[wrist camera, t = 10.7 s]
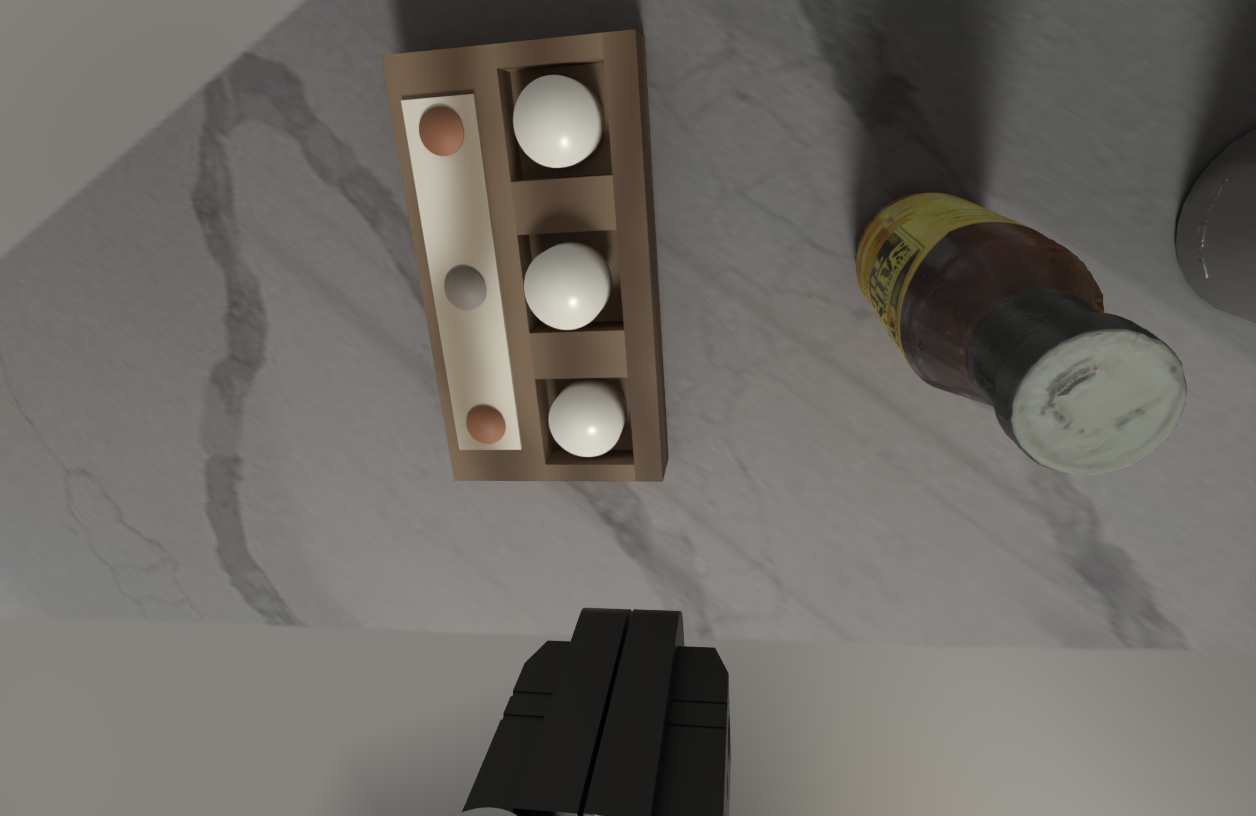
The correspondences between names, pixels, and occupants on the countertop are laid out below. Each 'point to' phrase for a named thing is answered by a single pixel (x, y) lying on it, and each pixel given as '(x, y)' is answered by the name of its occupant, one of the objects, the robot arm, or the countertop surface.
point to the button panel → (530, 252)
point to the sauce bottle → (1018, 333)
